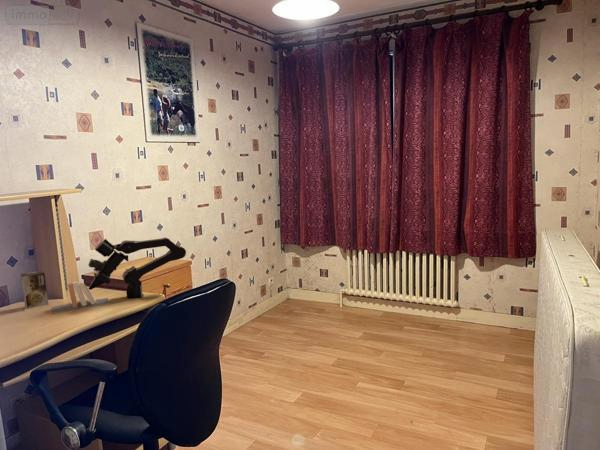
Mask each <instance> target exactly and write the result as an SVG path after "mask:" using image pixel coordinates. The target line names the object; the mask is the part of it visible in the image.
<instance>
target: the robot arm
mask: <svg viewBox="0 0 600 450" xmlns="http://www.w3.org/2000/svg"><path fill="white" fill-rule="evenodd" d="M162 247H166V248H167V249H169V250H168V251H166V253H165V254H162V255H161V256H158V257H156V258H155V259H152V260H151V261H149V262H147V263H145V264H142V265H141V266H140V267H135V265H133V266H131V267H129V268H127V269H126V268H125V270H124V272H123V273H122V275H121V277H122V279H123V282H124V283H125V284H126V285H127V286H126V289H125V290H126V291H125V292H126V293H125V294H126V298H127V299H128V300H129V299H131V300H133V299H142V298H143V297H144V293H143V284H142V283H143V282H142V281H141V279H142V277H143V276H145V275H146V274H148V273H150V272H153V271H154V270H156V269H158V268H160V267H162V266H163V265H165V264H168V263H169V262H172V261H173V262H174V261H177V260H181V259H183V258H185V257H186V256H187V255H186V254H187V251H186V248H184V247H183V246H181V245H177V244H175V243H174V242H173V241H171V240H170V238H168V237H162V238H155V239H148V240H141V241H140V240H129V239H127V240H123V241H121V243H117V244H113V243H111V242H110V241H108V239H107V238H104V239H103V240H102V241H101V242H100V243H98V244H97V246H95V248H94V250H95V252H97V253H98V254H100V255H102V256H103V257H104V258H106V257H108V258H107V260H104V261H100V260H98V259H93V258H90V259H89V262H88V267H89V268H93V271H94V272H93V277H94V278H93V279H92V281H91V283H90V284H89V286H88V290H89V291H90V290H93V289H95V288H97V287H99V286H102V285H103V284H107V285H109V284H110V283H111V276H112V274H113V273H114V272H115V271H117V269H118V267H119V266H120V264H122V262H123V261H126V262H129V255H130V254H133V253H136V252H138V251H141V250H146V249H155V248H162Z"/></svg>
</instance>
